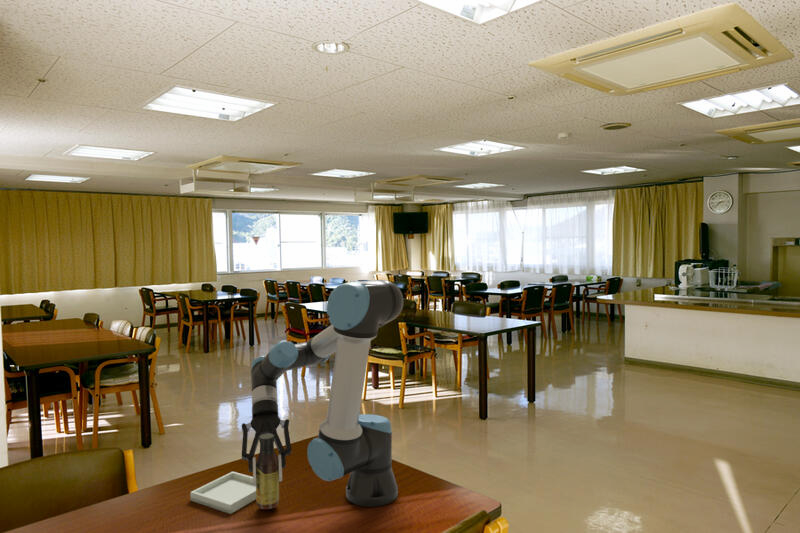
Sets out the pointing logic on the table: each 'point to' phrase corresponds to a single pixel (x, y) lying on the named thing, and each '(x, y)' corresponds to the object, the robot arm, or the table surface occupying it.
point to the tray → (226, 492)
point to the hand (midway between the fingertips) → (267, 481)
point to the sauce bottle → (267, 474)
